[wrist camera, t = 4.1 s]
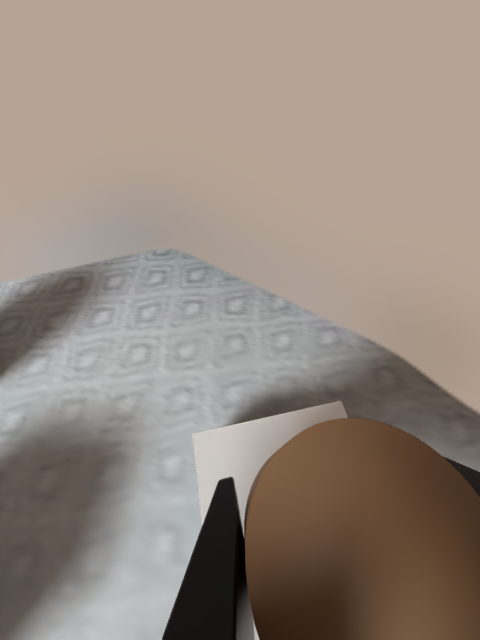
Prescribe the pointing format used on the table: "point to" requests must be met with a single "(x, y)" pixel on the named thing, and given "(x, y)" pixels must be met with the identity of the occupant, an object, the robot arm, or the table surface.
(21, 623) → the table surface
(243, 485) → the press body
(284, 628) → the plunger
